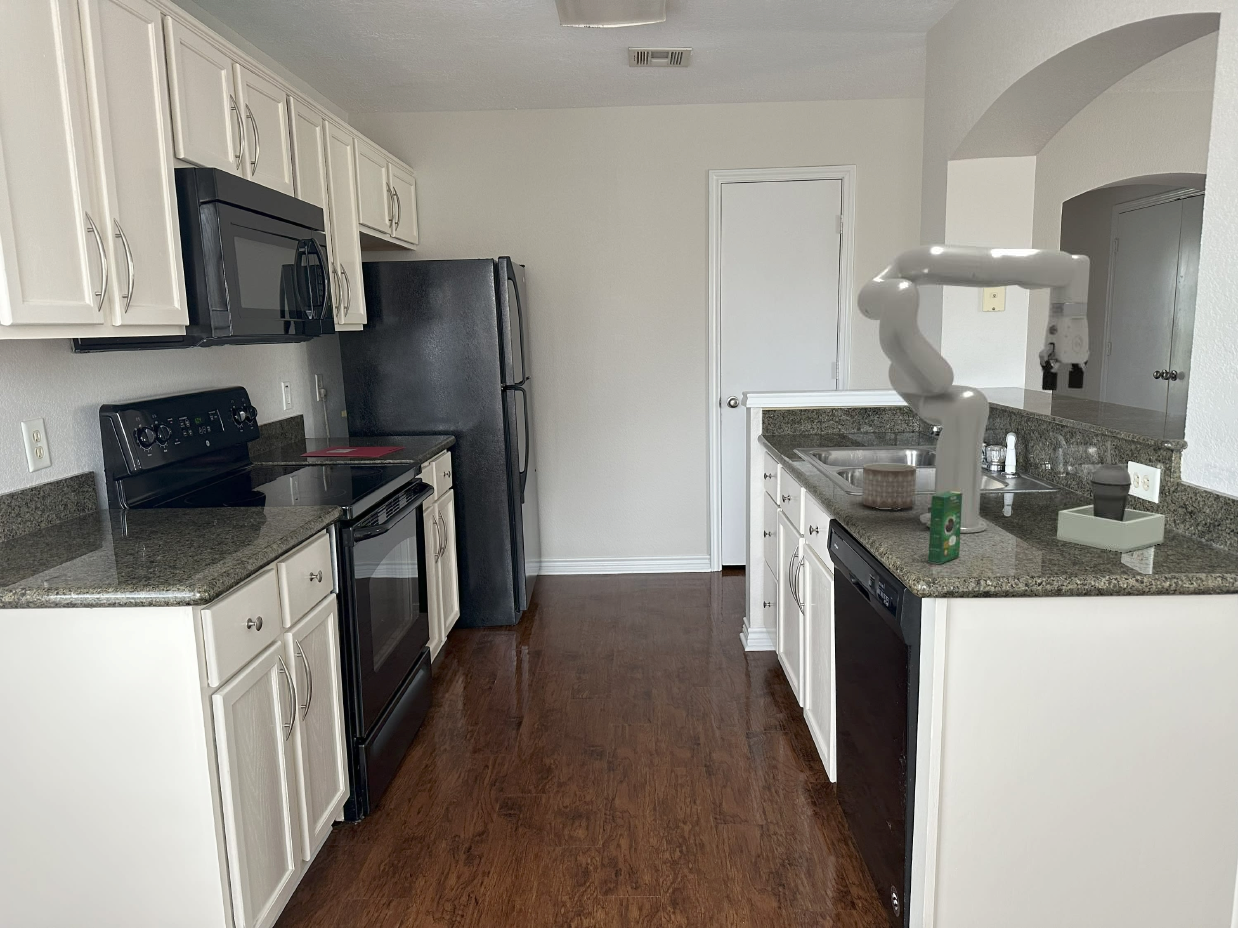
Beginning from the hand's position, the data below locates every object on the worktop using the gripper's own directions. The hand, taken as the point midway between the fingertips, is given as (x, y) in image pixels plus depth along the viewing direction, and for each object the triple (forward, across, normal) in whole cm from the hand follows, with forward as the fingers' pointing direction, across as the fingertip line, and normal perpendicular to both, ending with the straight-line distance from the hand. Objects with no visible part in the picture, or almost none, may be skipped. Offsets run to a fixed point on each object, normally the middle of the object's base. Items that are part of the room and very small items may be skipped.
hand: (1062, 389), depth 193 cm
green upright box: (+31, -49, -9) cm, 58 cm away
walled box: (+30, -9, -18) cm, 36 cm away
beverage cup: (+30, -10, -18) cm, 36 cm away
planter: (+31, -19, +32) cm, 48 cm away
